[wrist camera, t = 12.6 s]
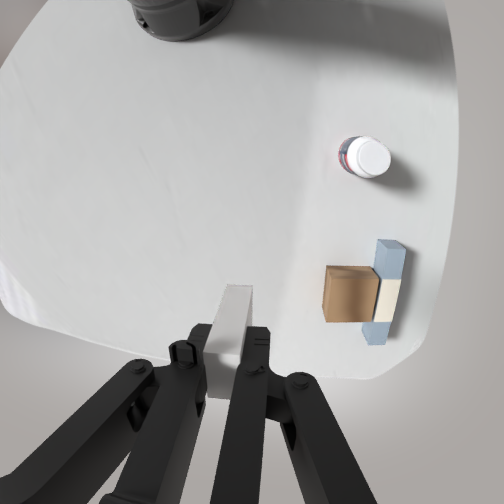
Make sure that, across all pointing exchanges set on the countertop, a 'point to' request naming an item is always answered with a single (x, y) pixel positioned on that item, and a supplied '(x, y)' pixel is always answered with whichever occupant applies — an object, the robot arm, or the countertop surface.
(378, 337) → the blue and cream block
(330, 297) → the walnut block
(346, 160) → the pill bottle
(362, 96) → the countertop surface
